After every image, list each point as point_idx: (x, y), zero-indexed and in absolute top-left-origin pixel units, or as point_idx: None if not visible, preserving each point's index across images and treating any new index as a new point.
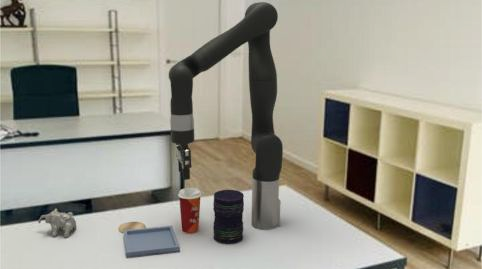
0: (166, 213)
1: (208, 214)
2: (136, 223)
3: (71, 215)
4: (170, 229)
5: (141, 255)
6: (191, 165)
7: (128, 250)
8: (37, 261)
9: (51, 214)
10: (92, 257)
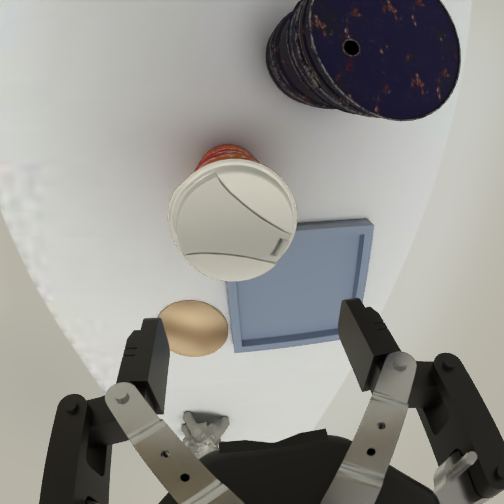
0: (86, 242)
1: (101, 99)
2: (168, 322)
3: (203, 444)
4: None
5: None
6: (455, 364)
7: None
8: (306, 427)
9: None
10: (323, 376)
